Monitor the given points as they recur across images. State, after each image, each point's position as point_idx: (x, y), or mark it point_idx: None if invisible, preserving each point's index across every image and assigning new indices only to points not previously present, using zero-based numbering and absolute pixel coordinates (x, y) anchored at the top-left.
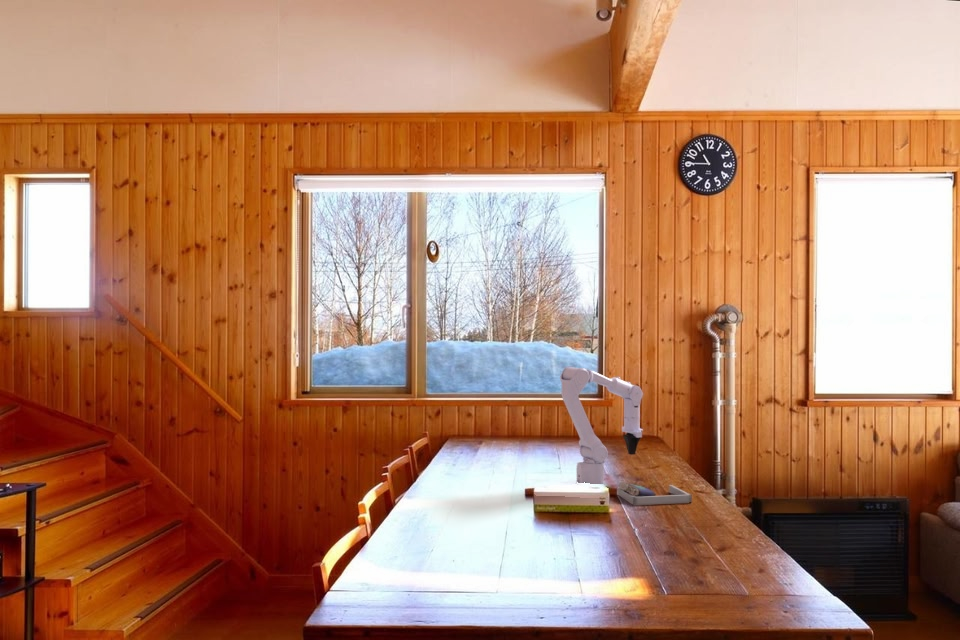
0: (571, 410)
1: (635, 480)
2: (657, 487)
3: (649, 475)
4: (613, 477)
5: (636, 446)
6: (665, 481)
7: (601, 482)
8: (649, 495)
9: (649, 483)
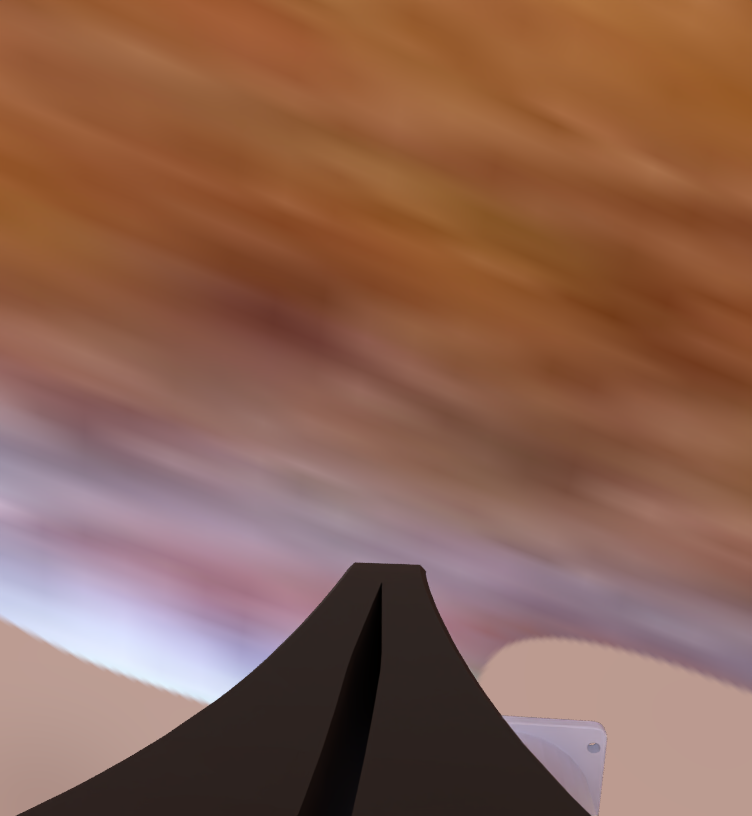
0: None
1: (327, 365)
2: (692, 262)
3: (98, 109)
4: (179, 517)
5: (462, 667)
6: (424, 34)
7: (590, 802)
8: None
9: (487, 273)
